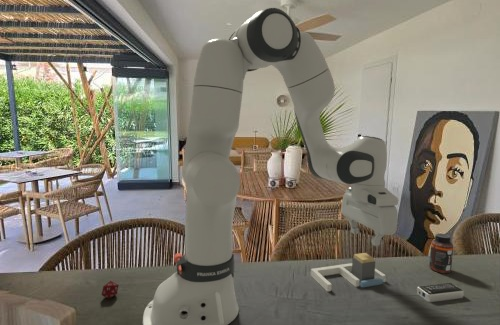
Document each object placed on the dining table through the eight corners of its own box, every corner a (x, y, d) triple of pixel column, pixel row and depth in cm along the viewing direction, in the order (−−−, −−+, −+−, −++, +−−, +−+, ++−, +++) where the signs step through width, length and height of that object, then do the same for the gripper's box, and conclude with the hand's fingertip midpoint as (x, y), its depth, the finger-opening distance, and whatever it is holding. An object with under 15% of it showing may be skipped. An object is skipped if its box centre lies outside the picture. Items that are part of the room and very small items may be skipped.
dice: (100, 302, 76) (99, 288, 76) (105, 293, 80) (104, 279, 80) (116, 301, 77) (115, 286, 76) (120, 291, 81) (119, 277, 81)
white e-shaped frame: (329, 293, 81) (329, 286, 81) (310, 275, 91) (310, 268, 91) (387, 283, 87) (387, 276, 87) (364, 267, 97) (364, 261, 96)
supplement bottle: (454, 275, 92) (458, 239, 91) (433, 273, 93) (436, 238, 92) (446, 266, 98) (449, 232, 97) (426, 264, 99) (428, 231, 98)
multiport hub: (463, 299, 80) (464, 290, 80) (428, 303, 78) (429, 295, 78) (449, 290, 84) (450, 282, 84) (416, 294, 82) (416, 286, 82)
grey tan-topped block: (361, 283, 87) (362, 260, 86) (351, 276, 91) (352, 254, 90) (374, 281, 88) (375, 258, 87) (364, 274, 92) (365, 252, 91)
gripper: (337, 186, 95) (335, 228, 97) (383, 201, 76) (379, 254, 78) (354, 185, 97) (351, 226, 99) (403, 200, 78) (399, 251, 79)
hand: (364, 238), depth 88 cm, fingers open, 8 cm apart
